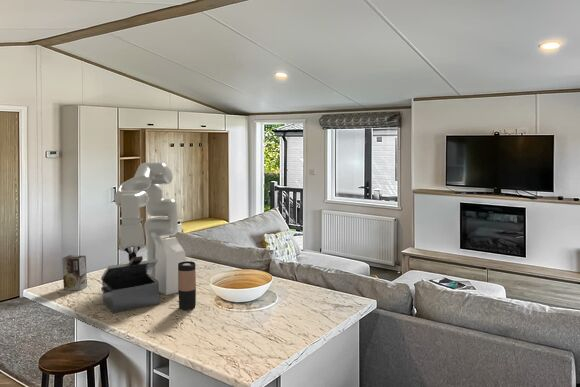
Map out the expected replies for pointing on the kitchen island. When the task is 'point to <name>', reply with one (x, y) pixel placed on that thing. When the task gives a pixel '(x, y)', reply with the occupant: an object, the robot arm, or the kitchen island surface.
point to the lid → (129, 268)
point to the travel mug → (187, 285)
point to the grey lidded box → (130, 292)
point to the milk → (169, 265)
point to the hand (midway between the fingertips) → (132, 261)
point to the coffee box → (74, 272)
